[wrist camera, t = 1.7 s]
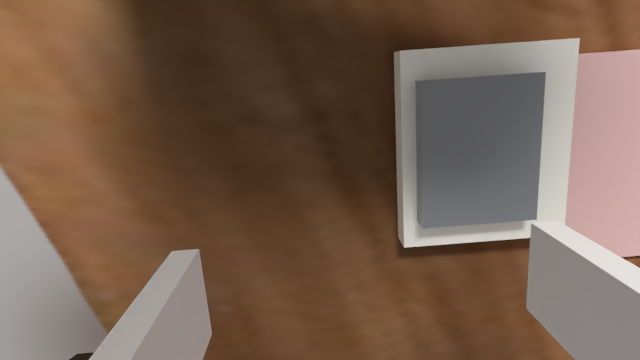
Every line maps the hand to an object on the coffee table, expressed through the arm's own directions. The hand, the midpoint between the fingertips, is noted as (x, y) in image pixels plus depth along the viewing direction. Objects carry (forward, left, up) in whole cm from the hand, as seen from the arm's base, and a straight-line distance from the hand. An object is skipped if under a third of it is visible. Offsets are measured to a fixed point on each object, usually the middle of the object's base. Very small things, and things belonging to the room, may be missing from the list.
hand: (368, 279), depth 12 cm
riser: (0, +11, -20) cm, 22 cm away
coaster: (0, +10, -18) cm, 20 cm away
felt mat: (+2, +24, -20) cm, 31 cm away
